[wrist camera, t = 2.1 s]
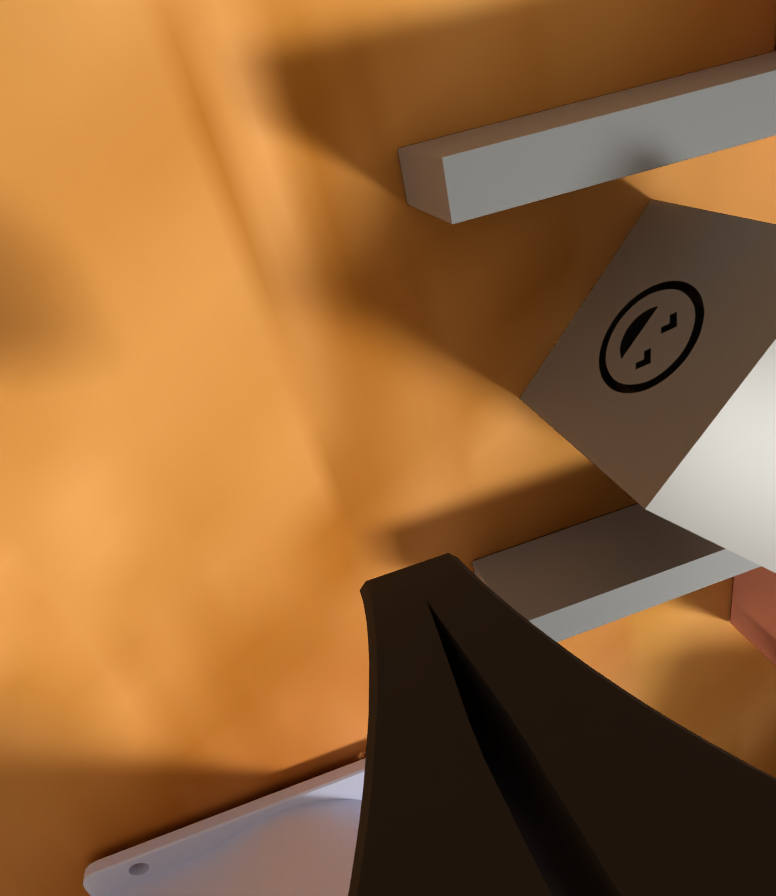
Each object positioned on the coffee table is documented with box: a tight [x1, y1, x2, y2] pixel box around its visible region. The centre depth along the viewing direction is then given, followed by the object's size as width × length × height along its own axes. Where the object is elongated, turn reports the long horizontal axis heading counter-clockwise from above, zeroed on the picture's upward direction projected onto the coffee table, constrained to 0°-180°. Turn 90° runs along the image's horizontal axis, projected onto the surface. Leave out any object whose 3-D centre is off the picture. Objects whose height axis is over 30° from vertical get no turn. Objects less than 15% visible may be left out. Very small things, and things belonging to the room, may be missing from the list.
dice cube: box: [520, 199, 776, 573], centre depth 14 cm, size 5×5×5 cm
